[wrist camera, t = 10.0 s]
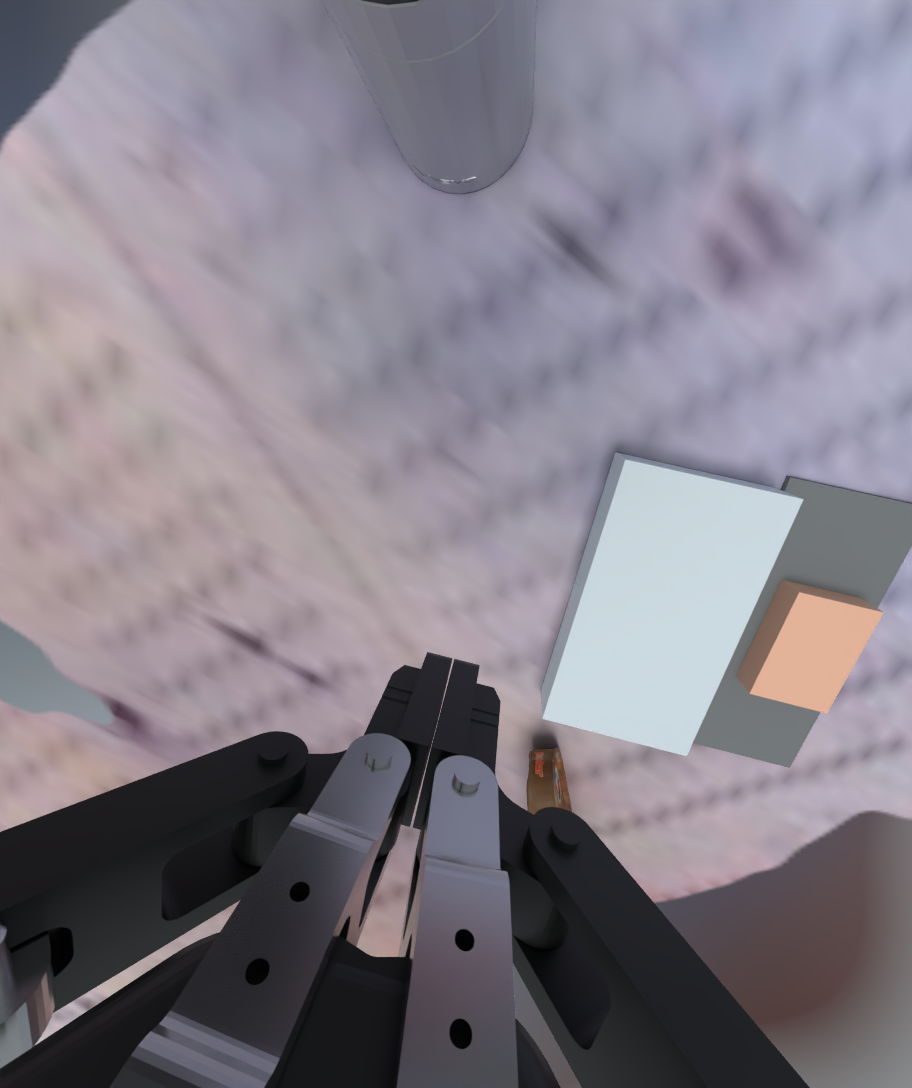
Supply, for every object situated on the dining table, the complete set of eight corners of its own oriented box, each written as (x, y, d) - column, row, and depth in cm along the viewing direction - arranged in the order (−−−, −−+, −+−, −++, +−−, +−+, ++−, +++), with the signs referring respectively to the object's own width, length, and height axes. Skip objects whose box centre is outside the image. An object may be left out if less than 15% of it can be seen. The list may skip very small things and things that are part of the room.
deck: (615, 452, 37) (625, 459, 33) (774, 487, 36) (803, 499, 32) (540, 690, 44) (542, 718, 40) (672, 724, 43) (686, 756, 39)
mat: (787, 476, 36) (790, 477, 35) (926, 507, 35) (932, 508, 35) (674, 734, 44) (675, 738, 43) (786, 763, 43) (789, 767, 42)
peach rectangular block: (883, 612, 35) (861, 598, 37) (799, 592, 35) (782, 579, 38) (826, 713, 38) (808, 694, 40) (749, 693, 38) (736, 675, 40)
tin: (579, 850, 49) (589, 939, 41) (548, 851, 50) (552, 939, 42) (556, 726, 45) (563, 799, 37) (522, 729, 46) (522, 801, 38)
